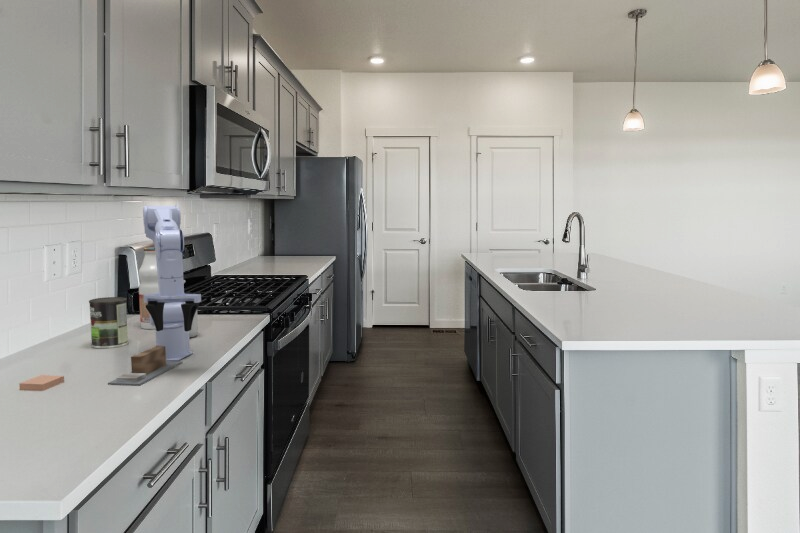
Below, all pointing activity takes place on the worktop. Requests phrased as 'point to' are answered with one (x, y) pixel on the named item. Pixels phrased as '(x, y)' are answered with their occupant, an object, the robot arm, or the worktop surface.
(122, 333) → the coffee can
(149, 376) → the mat
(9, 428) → the worktop surface
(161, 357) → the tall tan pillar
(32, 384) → the tile
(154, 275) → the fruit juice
